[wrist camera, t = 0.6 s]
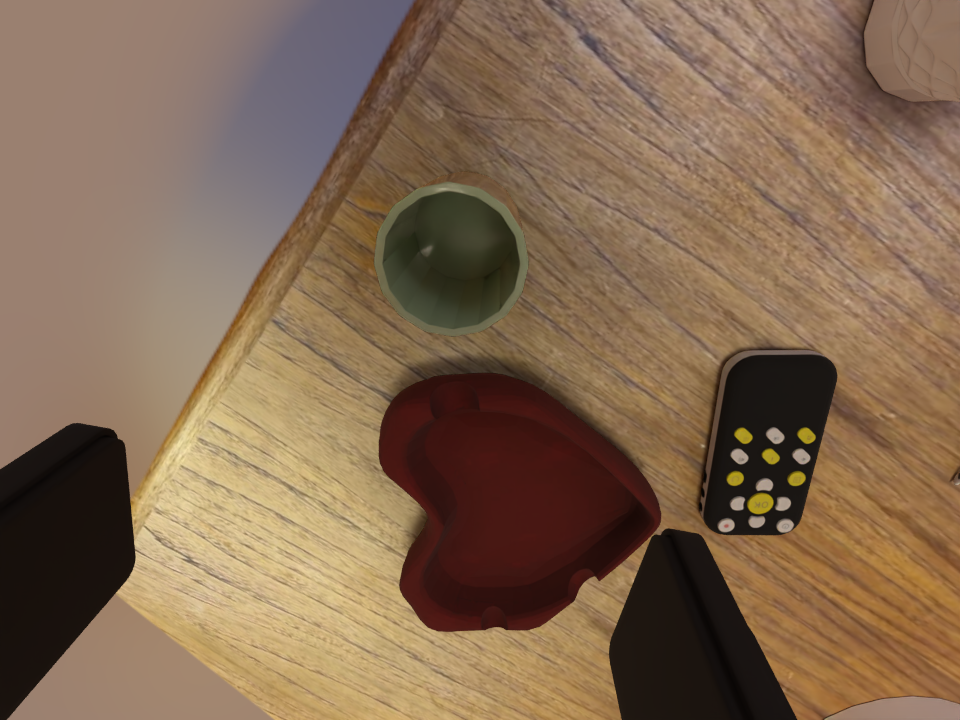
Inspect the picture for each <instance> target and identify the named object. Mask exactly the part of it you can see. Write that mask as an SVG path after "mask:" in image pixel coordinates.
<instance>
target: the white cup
mask: <svg viewBox="0 0 960 720" xmlns="http://www.w3.org/2000/svg"><path fill="white" fill-rule="evenodd" d="M864 43H865V55H866V66H867V68H868V70H869V71H870V72H871V74H872V75H873V77H874V78H875V80H876V81H877V83H878V84H879V86H880V87H881V89H882V90H883V91H885V92H887V93H890V94H892V95H895V96H897V97H900V98H902V99H905V100H907V101H910V102H921V101H940V100H948V101H957V102H960V0H874V3H873V6H872V9H871V12H870V15H869V18H868V21H867V24H866V27H865V30H864Z"/></svg>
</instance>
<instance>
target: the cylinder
mask: <svg viewBox="0 0 960 720" xmlns="http://www.w3.org/2000/svg"><path fill="white" fill-rule="evenodd" d="M824 720H960V704H958V703H954V702H951V701H947V700H944V699H940V698H927V697H915V696H910V697H899V698H887V699H880V700H876V701H872V702H868V703H864V704H860V705H856V706H853V707H850V708H848V709H846V710H843V711H841V712H839V713H837V714H834V715H832V716H830V717H827V718H826V719H824Z"/></svg>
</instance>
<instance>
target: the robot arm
mask: <svg viewBox="0 0 960 720" xmlns="http://www.w3.org/2000/svg"><path fill="white" fill-rule="evenodd" d="M134 564H135V546H134V535H133V525H132V514H131V503H130V492H129V482H128V471H127V461H126V449H125V444H124V442H123V441H122V440H120V439H118V438H117V434H116V433H115V432H114V430H111V429H109V428H103V427H98V426H92V425H86V424H81V423H73V424H70V425H68V426H66V427H65V428H63V429H62V430H60V431H59V432H57V433H55V434H54V435H52V436H51V437H49V438H48V439H46V440H45V441H43V442H42V443H40V444H39V445H37V446H35V447H34V448H32V449H31V450H29V451H28V452H26V453H25V454H23V455H22V456H20V457H19V458H17V459H15V460H14V461H13V462H11V463H9V464H8V465H6V466H5V467H3V468H2V469H0V720H7V719H8V718H9V717H10V715H11V714H12V713H13V712H14V711H15V710H16V708H17V707H18V706H19V705H20V704H21V703H22V701H23V700H24V699H25V698H26V697H27V696H28V694H29V693H30V692H31V691H32V690H33V689H34V687H35V686H36V685H37V684H38V683H39V682H40V680H41V679H42V678H43V677H44V676H45V675H46V673H47V672H48V671H49V670H50V669H51V668H52V666H53V665H54V664H55V663H56V662H57V661H58V659H59V658H60V657H61V656H62V655H63V654H64V652H65V651H66V650H67V649H68V648H69V647H70V645H71V644H72V643H73V642H74V641H75V640H76V638H77V637H78V636H79V635H80V634H81V633H82V632H83V630H84V629H85V628H86V627H87V626H88V624H89V623H90V622H91V621H92V620H93V619H94V618H95V616H96V615H97V614H98V613H99V612H100V610H102V608H103V607H104V606H105V605H106V604H107V603H108V601H109V600H110V599H111V598H112V597H113V596H114V594H115V593H116V592H117V591H118V590H119V589H120V587H121V586H122V585H123V584H124V583H125V582H126V580H127V579H128V578H129V576H130V574H131V572H132V570H133V567H134ZM609 658H610V665H611V670H612V674H613V679H614V684H615V689H616V694H617V699H618V704H619V709H620V713H621V718H622V720H797V718H796V716H795V714H794V712H793V710H792V708H791V706H790V704H789V702H788V701H787V699H786V697H785V695H784V693H783V691H782V689H781V687H780V685H779V683H778V681H777V679H776V677H775V675H774V673H773V671H772V669H771V667H770V665H769V663H768V661H767V659H766V657H765V655H764V653H763V651H762V649H761V648H760V646H759V644H758V642H757V640H756V638H755V636H754V634H753V633H752V631H751V630H750V628H749V627H748V625H747V623H746V621H745V619H744V617H743V615H742V613H741V612H740V610H739V608H738V606H737V604H736V602H735V600H734V598H733V596H732V594H731V592H730V590H729V588H728V586H727V584H726V582H725V580H724V578H723V576H722V574H721V572H720V570H719V568H718V566H717V564H716V562H715V560H714V558H713V556H712V554H711V552H710V550H709V548H708V546H707V544H706V542H705V540H704V539H703V537H702V536H701V535H699V534H697V533H691V532H686V531H680V530H675V529H665V530H664V531H663V532H662V534H661V535H654V536H653V537H652V538H651V540H650V542H649V545H648V547H647V550H646V552H645V555H644V557H643V560H642V562H641V565H640V567H639V570H638V573H637V575H636V578H635V580H634V583H633V585H632V588H631V590H630V593H629V595H628V598H627V600H626V603H625V605H624V608H623V610H622V613H621V615H620V618H619V620H618V623H617V625H616V628H615V630H614V633H613V635H612V638H611V641H610V648H609Z"/></svg>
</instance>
